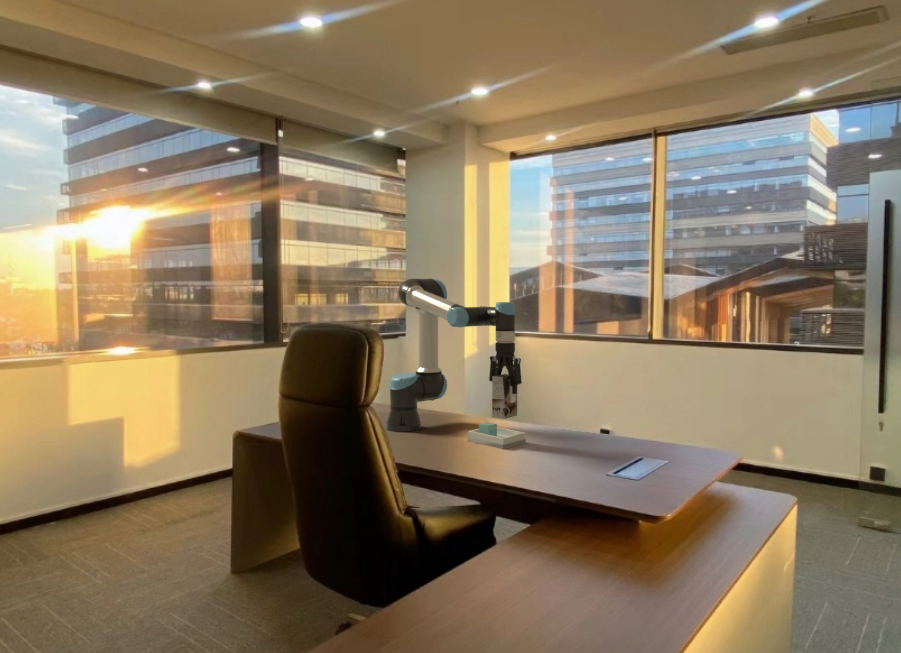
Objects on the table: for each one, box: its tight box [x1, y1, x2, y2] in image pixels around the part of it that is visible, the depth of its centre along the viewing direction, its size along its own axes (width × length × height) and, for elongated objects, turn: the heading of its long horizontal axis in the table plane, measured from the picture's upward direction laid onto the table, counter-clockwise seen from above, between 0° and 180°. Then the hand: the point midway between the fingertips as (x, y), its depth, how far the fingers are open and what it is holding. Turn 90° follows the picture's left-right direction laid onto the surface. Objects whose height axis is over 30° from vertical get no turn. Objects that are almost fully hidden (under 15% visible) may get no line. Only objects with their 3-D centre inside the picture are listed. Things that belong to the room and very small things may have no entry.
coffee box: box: [491, 373, 518, 420], centre depth 243 cm, size 9×6×16 cm
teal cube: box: [478, 421, 498, 436], centre depth 250 cm, size 5×5×5 cm
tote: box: [467, 426, 527, 450], centre depth 246 cm, size 18×14×4 cm
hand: (505, 401), depth 243 cm, fingers closed on coffee box, 7 cm apart
